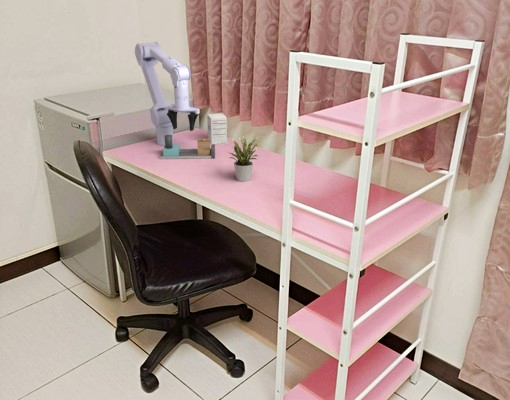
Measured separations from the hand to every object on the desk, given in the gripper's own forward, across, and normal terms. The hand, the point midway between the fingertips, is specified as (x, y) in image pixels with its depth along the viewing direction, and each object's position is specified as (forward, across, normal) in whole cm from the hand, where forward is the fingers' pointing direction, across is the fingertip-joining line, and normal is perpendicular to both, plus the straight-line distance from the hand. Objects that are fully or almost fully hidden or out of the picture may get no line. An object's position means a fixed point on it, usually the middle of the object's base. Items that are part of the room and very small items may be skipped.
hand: (183, 129), depth 207 cm
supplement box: (+11, -7, -18) cm, 22 cm away
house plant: (+11, -34, +18) cm, 40 cm away
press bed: (+10, -4, +4) cm, 12 cm away
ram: (+9, +3, +6) cm, 12 cm away
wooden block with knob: (+10, -10, +1) cm, 14 cm away
